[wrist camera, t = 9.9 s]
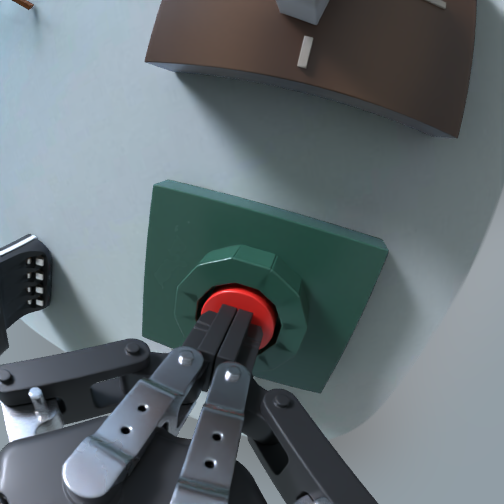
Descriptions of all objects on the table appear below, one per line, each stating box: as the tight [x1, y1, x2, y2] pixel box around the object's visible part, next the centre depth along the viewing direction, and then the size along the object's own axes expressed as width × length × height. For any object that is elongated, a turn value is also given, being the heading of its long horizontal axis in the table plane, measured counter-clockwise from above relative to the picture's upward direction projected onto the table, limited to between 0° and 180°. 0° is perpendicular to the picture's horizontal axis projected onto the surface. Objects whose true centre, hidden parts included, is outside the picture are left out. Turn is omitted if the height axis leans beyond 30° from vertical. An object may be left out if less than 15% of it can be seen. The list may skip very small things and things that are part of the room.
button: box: [201, 283, 278, 350], centre depth 15 cm, size 4×4×2 cm
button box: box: [142, 180, 389, 393], centre depth 16 cm, size 12×10×4 cm
